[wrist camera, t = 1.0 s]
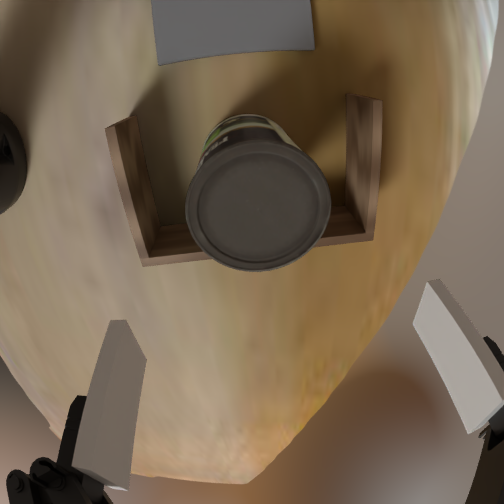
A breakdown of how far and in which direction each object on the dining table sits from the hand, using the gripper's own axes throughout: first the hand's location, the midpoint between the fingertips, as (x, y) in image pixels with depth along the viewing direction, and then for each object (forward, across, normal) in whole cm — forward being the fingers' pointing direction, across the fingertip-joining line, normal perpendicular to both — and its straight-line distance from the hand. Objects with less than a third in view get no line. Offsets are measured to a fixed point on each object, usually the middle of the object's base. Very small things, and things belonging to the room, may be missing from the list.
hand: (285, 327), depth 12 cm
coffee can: (+25, 0, 0) cm, 25 cm away
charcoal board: (+24, 0, +20) cm, 32 cm away
